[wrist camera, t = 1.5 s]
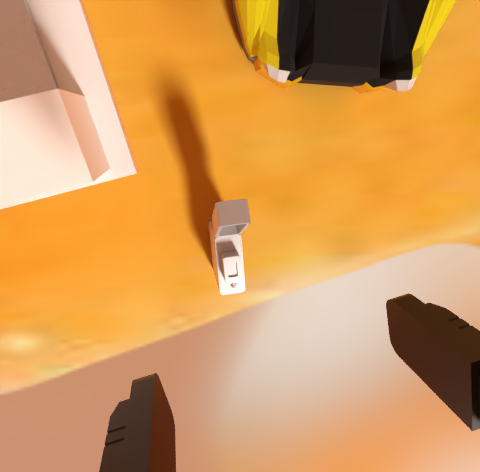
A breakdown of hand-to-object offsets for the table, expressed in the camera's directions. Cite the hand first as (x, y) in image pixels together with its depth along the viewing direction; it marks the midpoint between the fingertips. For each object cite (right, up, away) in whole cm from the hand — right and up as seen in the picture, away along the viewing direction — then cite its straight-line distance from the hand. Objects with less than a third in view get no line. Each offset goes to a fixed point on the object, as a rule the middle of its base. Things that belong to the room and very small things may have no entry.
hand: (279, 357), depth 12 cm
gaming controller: (+5, +19, +13) cm, 23 cm away
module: (-13, +10, +11) cm, 20 cm away
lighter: (-3, +5, +16) cm, 17 cm away
